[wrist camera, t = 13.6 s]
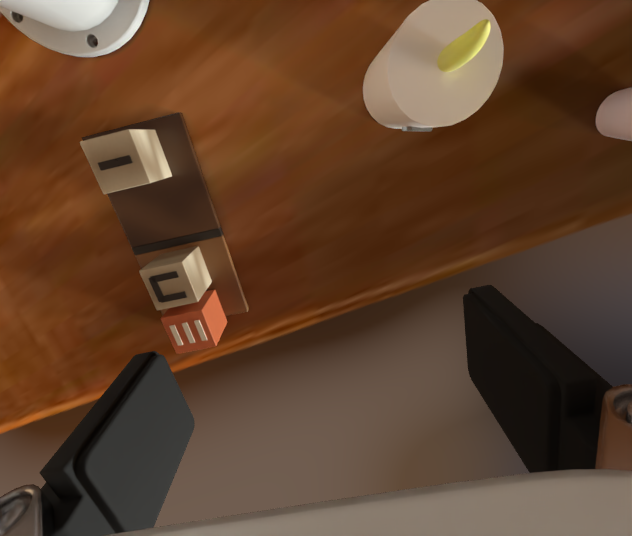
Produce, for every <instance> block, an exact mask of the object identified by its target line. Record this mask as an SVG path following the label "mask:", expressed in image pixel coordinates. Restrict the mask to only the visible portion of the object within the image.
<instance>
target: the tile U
mask: <svg viewBox="0 0 632 536" xmlns="http://www.w3.org/2000/svg"><path fill="white" fill-rule="evenodd" d="M139 272H140V275H141V277H142V279H143V281H144V283H145V285H146V288H147V290H148V292H149V294H150V296H151V299H152V301H153V303H154V305H155V307H156V309H157V310H162V309H166V308H171V307H176V306H181V305H186V304H190V303H195V302H198V301H199V300H200V299H201V297H202V296H203V294H204V293H205V291H206V290H207V288H208V287H209V286H210V284H211V283H212V280H211V278H210V275H209V272H208V270H207V267H206V264H205V262H204V259H203V256H202V254H201V251H200V248H199V246H195V247H190V248H186V249H181V250H177V251H172V252H168V253H163V254H160V255H159V256H158V257H156V258H155V259H154V260H153V261H151V262H150V263H149V264H147V265H146V266H145V267H144V268H142V269H141V270H140V271H139Z"/></svg>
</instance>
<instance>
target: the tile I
mask: <svg viewBox="0 0 632 536" xmlns="http://www.w3.org/2000/svg"><path fill="white" fill-rule="evenodd" d="M80 144H81V146H82V149H83V151H84V153H85V155H86V157H87V159H88V162H89V164H90V166H91V168H92V170H93V173H94V175H95V177H96V179H97V181H98V183H99V186H100V188H101V190H102V192H103V194H107V193H112V192H116V191H120V190H124V189H128V188H132V187H136V186H141V185H145V184H149V183H152V182H156V181H159V180H162V179H165V178H168V177H172V174H171V171H170V168H169V166H168V163H167V160H166V158H165V155H164V152H163V150H162V147H161V144H160V142H159V139H158V136H157V134H156V131H155V130H153V129H127V130H123V131H119V132H115V133H112V134H108V135H104V136H100V137H96V138H92V139H88V140H84V141H81V142H80Z"/></svg>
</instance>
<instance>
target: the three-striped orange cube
mask: <svg viewBox="0 0 632 536" xmlns="http://www.w3.org/2000/svg"><path fill="white" fill-rule="evenodd" d="M161 321H162V323H163V325H164V327H165V330H166V332H167V334H168V336H169V338H170V340H171V343H172V345H173V347H174V349H175V351H176V353H177V354H178V353H183V352H189V351H194V350H199V349H204V348H209V347H214V346H216V345H217V343H218V341H219V339H220V337H221V334H222V332H223V330H224V328H225V326H226V324H227V320H226V317H225V314H224V312H223V309H222V306H221V304H220V301H219V298H218V296H217V293H216V290H215V289H214V290H209V291H205V293H204V294H203V296H202V297H201V299H200V300H199V301H198V302H195V303H190V304H186V305H181V306H176V307H171V308H169V309H168V310H167V311H166V313H165V314H164V315H163V316H162V317H161Z"/></svg>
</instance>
